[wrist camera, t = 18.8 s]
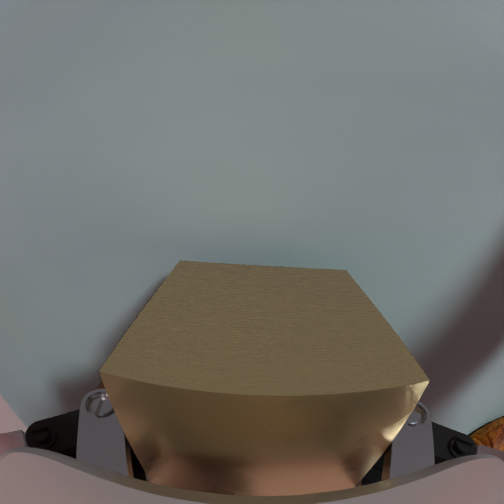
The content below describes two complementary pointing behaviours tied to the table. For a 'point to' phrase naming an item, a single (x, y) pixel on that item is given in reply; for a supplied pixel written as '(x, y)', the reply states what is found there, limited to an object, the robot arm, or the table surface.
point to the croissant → (491, 435)
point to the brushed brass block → (260, 381)
